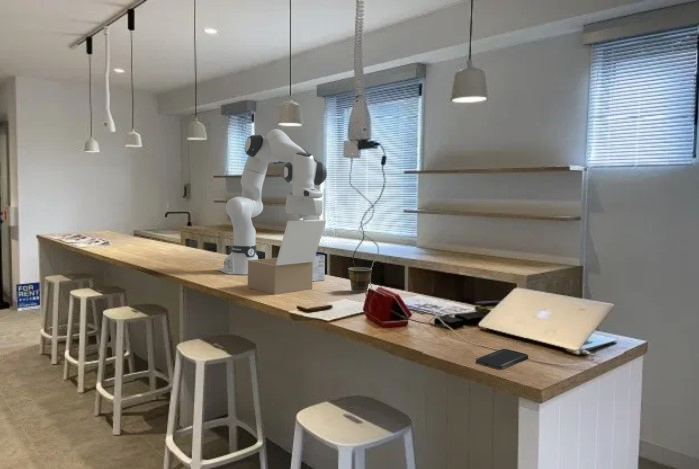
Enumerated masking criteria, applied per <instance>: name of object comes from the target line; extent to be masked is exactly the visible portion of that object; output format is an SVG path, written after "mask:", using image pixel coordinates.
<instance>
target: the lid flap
mask: <svg viewBox="0 0 699 469" xmlns="http://www.w3.org/2000/svg"><path fill="white" fill-rule="evenodd" d="M326 222H327V219H308V220H287V222H286V226H285V230H284V233H283V237H282V239H281V244H280V247H279V251H278V255H277V257H276V258H277V261H276V265H286V264H296V263H306V262H313V261H314V258H315V255H316V254H317V251H318V248H319V245H320V241H321V239H322V235H323V232H324V228H325V225H326Z"/></svg>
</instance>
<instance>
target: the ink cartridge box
mask: <svg viewBox="0 0 699 469" xmlns="http://www.w3.org/2000/svg"><path fill="white" fill-rule="evenodd" d="M325 258H326V256H325V254H320V253H316V255H315V258H314V261H313V272H312V282H319V281H325V276H326V275H325V268H326V267H325V266H326V264H325V263H326V261H325Z"/></svg>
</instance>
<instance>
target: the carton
mask: <svg viewBox="0 0 699 469" xmlns="http://www.w3.org/2000/svg"><path fill="white" fill-rule="evenodd" d="M277 258H278V257H270V258H269V257H268V258H258V259H257V260H248V274H247V288H248V287H249V288H248V289H252V290H256V291H259V292H263V293H268V294H272V295H280V294H288V293H296V292H302V291H308V290H309V291H310V290H313V281H312V272H313V262H306V263H296V264H286V265H276V261H277Z"/></svg>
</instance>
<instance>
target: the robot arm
mask: <svg viewBox="0 0 699 469" xmlns="http://www.w3.org/2000/svg"><path fill="white" fill-rule="evenodd" d="M266 134H267V135H266V136H262V135H261V134H252V135H249V136H248V137H247V138H246V141H245V143H244V152H245V154H246V155H247V159H246V161H245V164H244V167H243V170H242V175H241V179H240V185H241V196H234V197H232V198H230V199H229V200H227V202H225V212H226V214H227V215H228V216H229V218H230V221H231V224H232V229H233V230H232V231H233V245H231V246H230V248H231V253H230V254H229V255H227V257H225V259H224V260H223V267H221V268H220V267H219V269H218V271H220V272H222V273H225V274H227V275H248V260H257V259H259V257H258V254H257V249H258V248H257V245H256V244H257V243H256V242H257V241H256V240H257V239H256V238H257V232H256V228H255V227H254V225H253V222H252V218H254V217H257V216H259V215H260V214H261V213H262V212H263V209H264V204H263V201H262V192H263V185H264V181H265V178H266V174H267V171H268V165H269V164H270V163H273V164H274V165H276V164H277V165H278V164H284V163H285V164H284V166H283V168H282V169H283V170H282V173H283V174H282V176H283V179H284V181H286V182H287V183H288V184H290V185H292V191H289V193H288V194H287V197H286V200H285V208H284V209H285V210H284V211H285V213H286V214H289V215H290V214H292V215H297V216H296V217H297V219H298V220H309V219H310V216H313V217H315V216H317V217H319V216H321V215H322V214H323V206H324V205H323V199H322V197H323V192H322V191H321V190H319V189H318V188H315V186H318V187H319V186H320V185H322V183H324V182H325V181H326V178H327V174H328V173H327V172H328V171H327V168H326V166H325V165H324V164H323V163H322V162H321V161H318V160H317V159H315V157H314V154H312V153H309V151H307V150H306V149H304V148H303V147H301V146H299V145H298V144H296V143H295V142H294V141H293V140H291V138H290V137H289V135H288V134H286V132H284V131H283V130H282V129H279V128H274V129H272V130H270V131H269V132H267V133H266Z"/></svg>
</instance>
